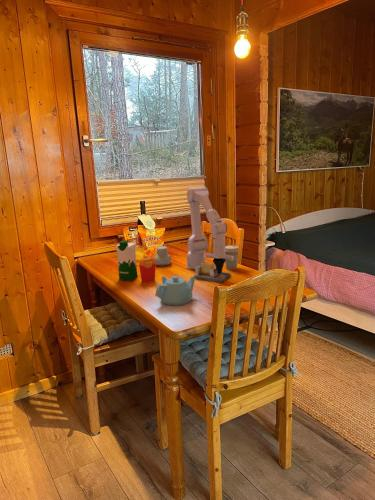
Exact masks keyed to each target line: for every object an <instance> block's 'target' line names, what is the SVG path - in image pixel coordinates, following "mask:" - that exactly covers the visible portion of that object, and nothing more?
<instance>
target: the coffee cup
mask: <svg viewBox="0 0 375 500" xmlns="http://www.w3.org/2000/svg"><path fill="white" fill-rule="evenodd" d="M239 252H240V248H239V246H238V245H233V244H230V245H225V254H226V255H231V256H234V260H233V261H231V260H226V261H225V263H224V264H225V269H226V270H227V271H228V270H229V271H235V270H237V267H238V260H239Z"/></svg>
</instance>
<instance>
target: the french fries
mask: <svg viewBox="0 0 375 500" xmlns="http://www.w3.org/2000/svg"><path fill="white" fill-rule="evenodd" d="M138 261H139V264H138V267H139V268H138V269H139V273H140V278H141V279H140V280H141V282H142V283H145V284H146V283H151V282H155V281H156V266H157V264H156V263H155V262H156V258H155V256H146V257H143V258H140V259H138Z"/></svg>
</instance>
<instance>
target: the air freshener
mask: <svg viewBox="0 0 375 500" xmlns="http://www.w3.org/2000/svg"><path fill="white" fill-rule="evenodd" d="M156 251H157V252H156V254H155V255H154V257H155V258H156V262H155V263H156V266H161V267H163V266H168V265H170V264H171V262H172V256H171V255H170V254H168V252H169V251H168V247H167V246H164V245H163V246H158V247H157V248H156Z"/></svg>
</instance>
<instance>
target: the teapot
mask: <svg viewBox="0 0 375 500" xmlns="http://www.w3.org/2000/svg"><path fill="white" fill-rule="evenodd" d="M195 280H196V279H195V277H193V276H190V279H189V280H188V281H187V280H186V279H184V278H182V277H179V276H177V275H176V276H175V275H174V276H172V277H171V278H167V277H166V276H161V281H162V284H157V287H156V290H155V293H154V296H155V297H157V298H158V299H160V300H161V302H162V303H163V304H165V305H167V306H171V305H172V306H176V307H177V306H183V305H186V304H188V303H189V302H190V301H191V300H192V299H193V289H194V286H195V285H194V284H195V282H196V281H195Z"/></svg>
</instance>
